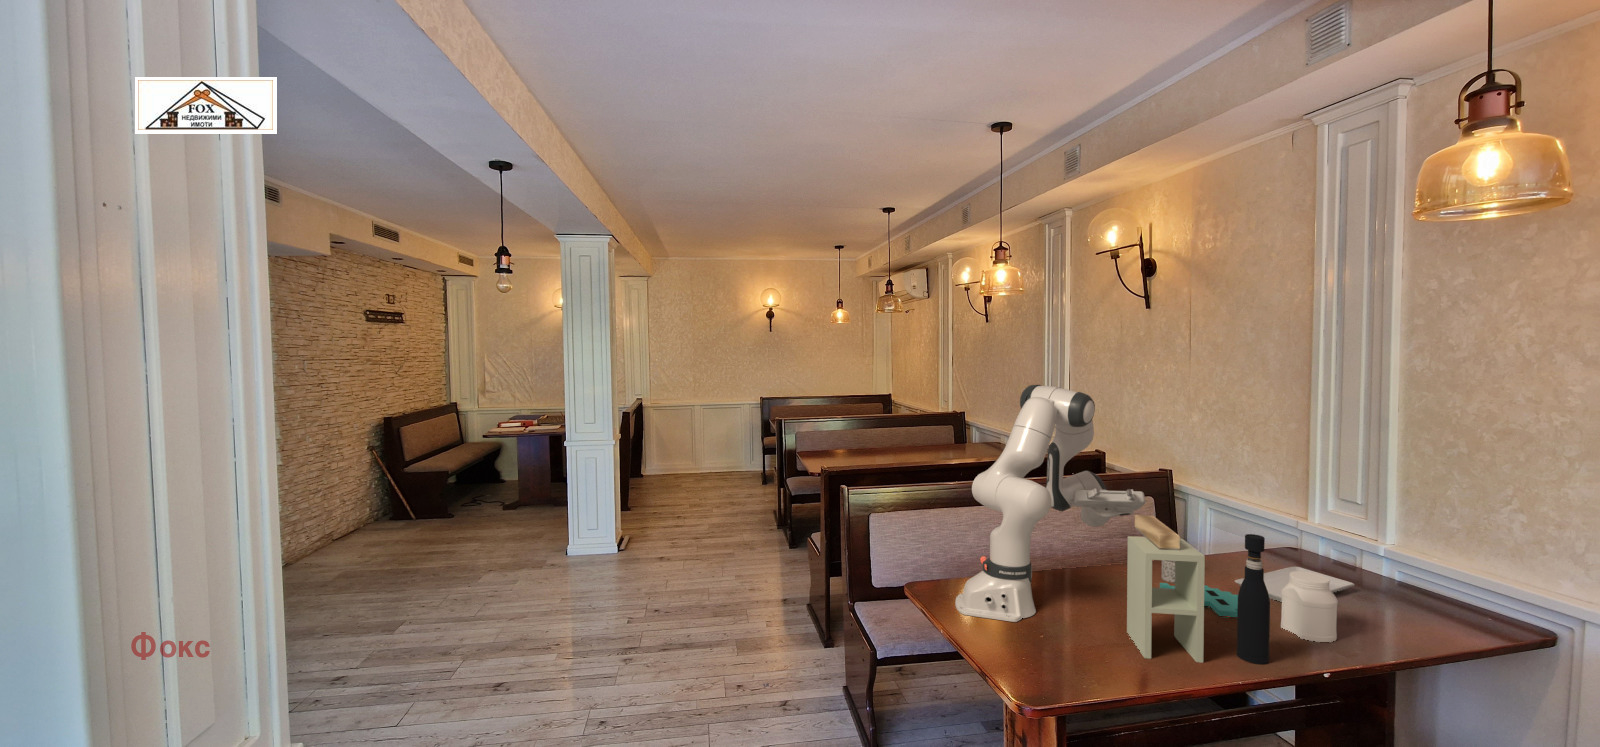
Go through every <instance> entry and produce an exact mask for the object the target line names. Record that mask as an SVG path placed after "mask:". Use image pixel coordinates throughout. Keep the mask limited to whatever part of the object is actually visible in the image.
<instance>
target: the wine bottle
mask: <svg viewBox="0 0 1600 747" xmlns="http://www.w3.org/2000/svg"><path fill="white" fill-rule="evenodd" d="M1265 540H1266V539H1265V537H1264V536H1263V535H1260V534H1255V533H1254V534H1253V533H1249V534H1247V533H1246V534H1245V535H1244V549H1245V550H1247V557H1248V558H1246V561H1245V562H1246V564H1245V566H1244V580H1243V582H1242V584H1241V586H1240V587H1239V590H1238V594H1237V595H1238V609H1237V618H1236V620H1237V623H1236V625H1237V626H1236V627H1237V628H1236V630H1237V631H1236V656H1237V657H1238V658H1239V659H1240V660H1243V661H1245V662H1247V663H1250V664H1255V665H1267V664H1269V662H1270V634H1271V632H1270V628H1271V624H1270V622H1271V620H1270V619H1271V601H1270V600H1271V599H1269V595H1268V591H1267V588H1266V585H1265V583H1264V573H1265V569H1264V568H1263V567H1264V566H1263V560H1261V559H1262V553H1263V552H1265V544H1266V542H1265Z"/></svg>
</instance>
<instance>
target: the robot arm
mask: <svg viewBox="0 0 1600 747" xmlns="http://www.w3.org/2000/svg"><path fill="white" fill-rule="evenodd" d="M1019 407H1020V410H1019V413H1018V414H1017V417H1016V419H1015V421H1014V423H1013V426H1012V429H1011V431H1010V434H1009V437H1008V439H1007V442H1006V443H1005V444H1006V445H1005V446H1004V448H1003V451H1002V453H1000V455H999V457H998V458H997V459H996V461H994V463H993V464H992V465H991V466H990V467H988V469H986V470H985V471H982V472H980V473H978V474H977V476H975V478H974V480H973V481H972V485H971V493H972V496H973V498H974V500H976V502H978V503H979V504H981V505H982V506H984V507H985V508H986V509H987V508H988V509H990V510H993V511H997V512H1000V513H1002V521H1001V524H1000V525H999V526H996V527H995V528H994V529H993V530H992V531H991V532H990V535H989V557H988V558H987V557H986V556H984V555H983V556H981V557H980V563H981V565H982V570H981V571H980V572H978V573H977V574H975V575H974V576H972V577H970V578H969V579H967V581H965V584H964V587H963V590H962V591H963V592H962V593H959V594H958V595H956V597H955V604H954V605H955V608H956V610H957V611H958V612H959V613H960V614H962V615H964V616H971V617H978V618H983V619H993V620H999V621H1006V622H1013V623H1017V622H1019V621H1022V618H1023V619H1026V618H1030V617H1032V616H1034V615H1035V614H1036V613H1037V610H1036V606H1035V602H1034V599H1033V593H1032V586H1031V584H1032V579H1033V578H1032V577H1033V567H1032V563H1031V538H1032V534H1033V530H1034V529H1035V526H1036V525H1037V523H1038V522H1039V521H1040V520H1042V519H1043V518H1045V517H1046V516H1047V514H1049V512H1050V510H1051V508H1052V510H1055V511H1059V512H1064V511H1067V510H1069V509H1071V508H1073V507H1077V508H1081V509H1080V514H1079V515H1080V520H1081V521H1082V522H1083V523H1084V524H1085V525H1087V526H1089V527H1092V528H1097V527H1098V528H1099V527H1101V526H1104V525H1105V524H1107V523H1108V522H1109V521H1110V519H1112V518H1116V517H1123V516H1132V515H1134V514H1135V512H1136V511H1139V510H1140V509H1141V508H1142V507H1143V506H1145V504H1146V498H1145V496H1146V495H1145V493H1144V492H1143V491H1140V490H1139V491H1137V490H1135V491H1134V489H1131V488H1127V489H1126V490H1107V487H1106V484H1105V482H1104V481H1103V480H1102V478H1101V477H1100V476H1099V475H1098V474H1097V473H1094V472H1092V471H1090V470H1083V471H1081V472H1078V473H1075V474H1072V475H1069V476H1066V477H1064V468H1065V466H1066V464H1067V463H1068V462H1069V461H1070V460H1071V459H1072V458H1074V457H1075V456H1076V455H1078V454H1080V453H1081V452H1082V451H1085V450H1086V449H1087V448H1088V447H1089V446H1090V445H1091V443H1092V441H1093V439H1094V436H1095V428H1094V420H1093V418H1094V416H1095V412H1096V409H1095V408H1096V404H1095V402H1094V399H1093V398H1092V397H1091V396H1090V395H1089V394H1087V393H1084V392H1081V391H1075V390H1071V389H1067V388H1062V387H1060V386H1051V385H1042V384H1030V385H1028V386H1027V387H1025V388H1024V390H1023V391H1022V392H1021V395H1020V398H1019ZM1054 431H1055V433H1054ZM1053 434H1054V437H1052V436H1053ZM1052 438H1053V439H1052ZM1050 442H1051V443H1050ZM1046 455H1047V458H1046ZM1045 458H1046V465H1047V466H1046V482H1045V486H1043V485H1041V484H1039V483H1038V482H1035V481H1034V480H1030V479H1026V478H1025V477H1026V476H1027V474H1029V472H1031V471H1032V470H1035V469H1037V468H1039V467H1041V465H1042V464H1043V463H1044V460H1045Z"/></svg>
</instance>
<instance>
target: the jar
mask: <svg viewBox="0 0 1600 747" xmlns="http://www.w3.org/2000/svg"><path fill="white" fill-rule="evenodd" d="M1289 577H1290V578H1289V579H1290V580H1289V583H1288V584H1287V585H1286V586H1285V587H1284V588H1283V589H1282V590H1281V595H1282V603H1281V614H1280V615H1281V621H1280V628H1281V629H1282V628H1283V629H1282V630H1284V629H1285V630H1284V631H1286V630H1288V631H1287V632H1289V631H1290V632H1289V633H1291V632H1292V633H1291V634H1293V633H1294V634H1296V635H1297V636H1298V637H1297V636H1296V635H1295V636H1296V637H1297V638H1299V637H1300V638H1299V639H1301V640H1303V639H1305V640H1304V641H1307V640H1309V641H1308V642H1313V641H1315V642H1314V643H1320V642H1329V643H1333V641H1334V642H1335V641H1336V640H1337V638H1338V637H1337V636H1338V633H1337V620H1338V618H1337V617H1338V616H1337V614H1338V613H1337V611H1338V603H1339V601H1338V598H1337V597H1336V595H1335V593H1332V592H1331V590H1330V588H1329V587H1330V586H1329V585H1330V584H1329V583H1330V580H1329V579H1328V578H1326V577H1324V576H1322V575H1318V574H1314V573H1309V572H1300V571H1296V572H1291V573H1290V576H1289ZM1294 634H1293V635H1294Z"/></svg>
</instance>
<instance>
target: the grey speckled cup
mask: <svg viewBox="0 0 1600 747" xmlns="http://www.w3.org/2000/svg"><path fill="white" fill-rule="evenodd" d="M1160 577H1161V580H1162V581H1164V582H1166V581H1167V582H1166V583H1169V582H1171V583H1170V584H1175V561H1169V560H1161V576H1160Z"/></svg>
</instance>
